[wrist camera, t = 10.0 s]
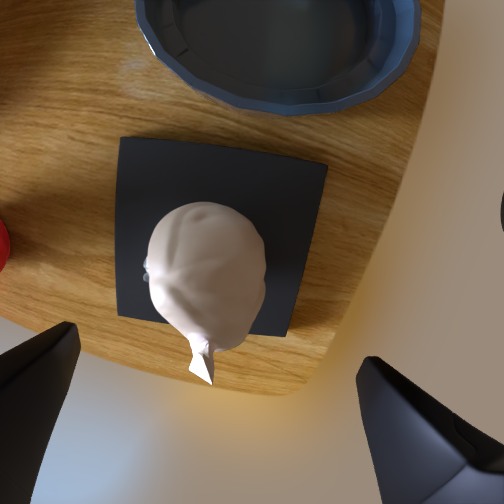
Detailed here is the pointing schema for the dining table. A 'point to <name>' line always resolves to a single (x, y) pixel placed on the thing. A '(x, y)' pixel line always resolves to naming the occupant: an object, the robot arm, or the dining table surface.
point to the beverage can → (4, 245)
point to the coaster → (224, 193)
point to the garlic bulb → (207, 278)
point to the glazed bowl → (283, 50)
